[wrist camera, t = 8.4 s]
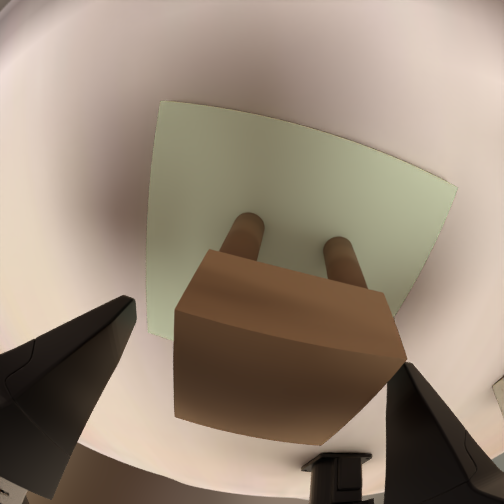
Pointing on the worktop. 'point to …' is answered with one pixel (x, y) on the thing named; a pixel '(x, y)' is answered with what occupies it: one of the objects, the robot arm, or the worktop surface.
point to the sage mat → (281, 202)
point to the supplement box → (500, 394)
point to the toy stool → (280, 342)
